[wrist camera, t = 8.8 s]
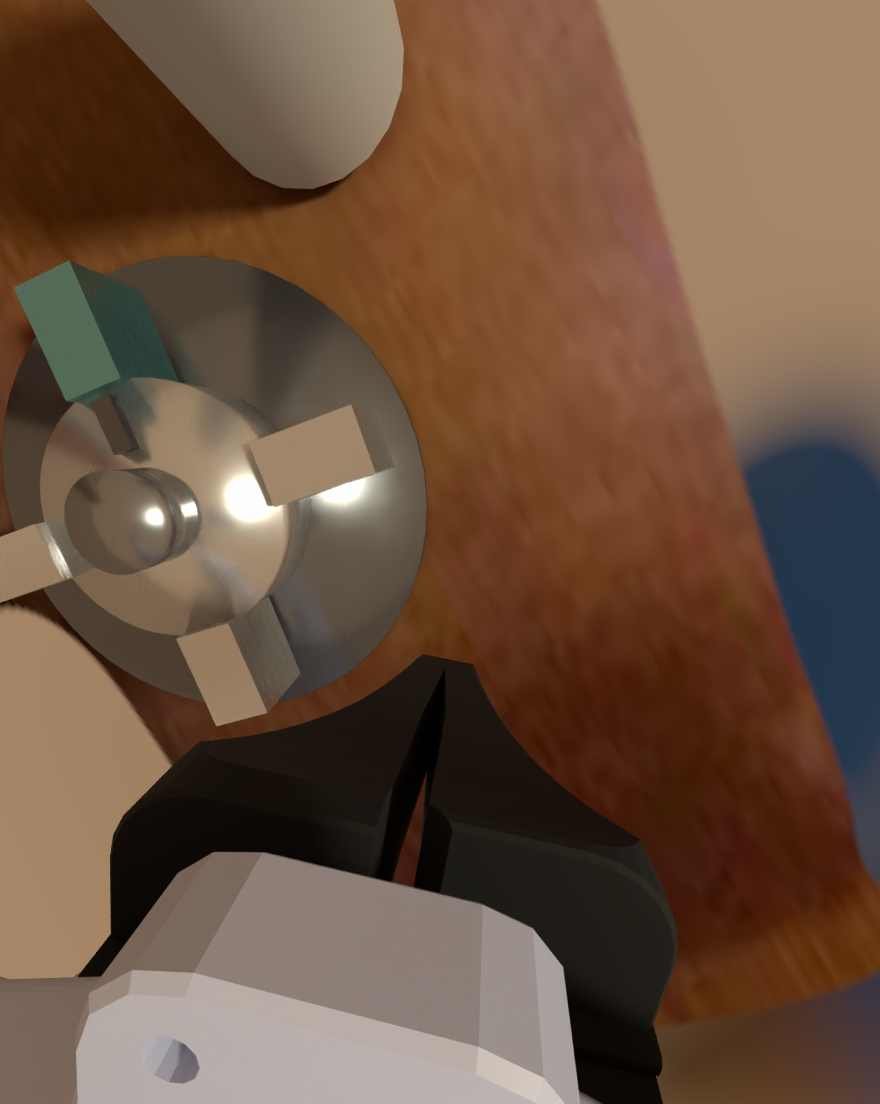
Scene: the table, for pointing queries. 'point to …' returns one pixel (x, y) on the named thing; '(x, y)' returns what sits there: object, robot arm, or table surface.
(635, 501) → the table surface
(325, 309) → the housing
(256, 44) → the can
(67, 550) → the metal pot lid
